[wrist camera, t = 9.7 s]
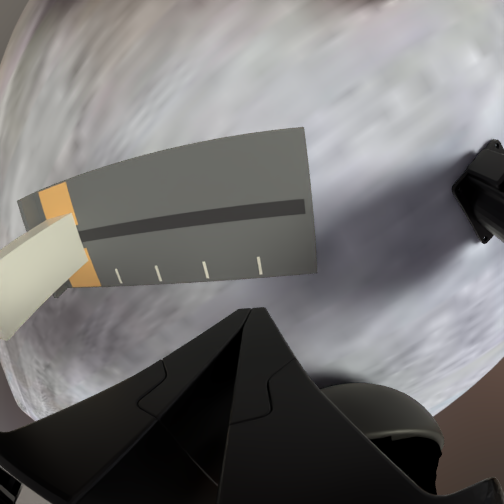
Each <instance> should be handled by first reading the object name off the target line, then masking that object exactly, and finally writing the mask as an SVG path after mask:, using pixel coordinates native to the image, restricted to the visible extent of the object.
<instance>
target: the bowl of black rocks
mask: <svg viewBox="0 0 504 504" xmlns="http://www.w3.org/2000/svg"><path fill="white" fill-rule="evenodd" d="M320 390H321V391H322V392H323V393H324V394H325V395H326V396H327V398H328V399H329V400H330V401H331V402H332V403H333V404H334V405H335V406H336V407H337V408H338V409H339V410H340V411H341V412H342V413H343V414H344V415H345V416H346V417H347V418H348V419H349V420H350V421H351V422H352V423H353V424H354V425H355V426H356V427H357V428H358V429H359V430H360V431H361V432H362V433H363V434H364V435H365V436H366V437H367V438H368V439H369V440H370V441H371V442H372V443H373V444H374V445H375V446H376V447H377V448H378V449H379V450H380V451H381V452H383V453H384V454H385V455H386V456H387V457H388V458H389V459H390V460H391V461H392V462H393V463H394V464H395V465H396V466H397V467H398V468H399V469H401V470H402V471H403V472H404V473H405V474H406V475H407V476H408V477H409V478H410V479H411V480H413V481H414V482H415V483H416V484H417V485H418V486H419V487H420V488H421V489H423V490H424V491H426V492H427V493H430V494H433V495H437V493H436V486H435V480H436V470H437V467H438V462H439V458H440V457H441V455H442V452H441V450H442V448H443V445H444V437H443V434H442V432H441V430H440V428H439V426H438V424H437V422H436V421H435V419H434V418H433V416H432V415H431V414H430V413H429V412H428V411H427V410H426V409H425V408H424V407H423V406H422V405H421V404H420V403H419V402H417V401H416V400H415V399H413V398H411V397H410V396H408V395H406V394H404V393H402V392H400V391H398V390H395V389H393V388H389V387H386V386H382V385H376V384H369V383H349V384H340V385H334V386H330V387H326V388H323V389H320Z"/></svg>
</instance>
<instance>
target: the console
mask: <svg viewBox="0 0 504 504" xmlns="http://www.w3.org/2000/svg"><path fill="white" fill-rule="evenodd" d="M17 203H18V206H19V209H20V213H21V216H22V219H23V222H24V225H25V228H26V231H27V232H28V231H29V230H31V229H32V228H34V227H36V226H37V225H39V224H41V223H42V222H44V221H45V220H47V219H50V218H54V217H57V216H61V215H64V214H68V213H72V215H73V218H74V221H75V224H76V228H77V230H78V233H79V236H80V239H81V242H82V245H83V248H84V250H85V253H86V256H87V258H88V262H86V263H85V264H84V265H83V266H82V267H81V268H80V269H79V270H78V271H76V272H75V273H74V274H73V275H72V276H71V277H70V278H69V279H68V280H67V281H66V282H65V283H64V284H62V285H61V286H60V287H59V288H58V289H57V290H56V291H55V292H54V293H53V296H54V298H58V297H59V296H60V295H61V294H62V293H63V292H64V291H65V290H66V289H67V288H82V287H111V286H134V285H155V284H174V283H191V282H207V281H223V280H237V279H251V278H264V277H276V276H289V275H300V274H312V273H317V260H316V243H315V229H314V216H313V205H312V194H311V184H310V174H309V165H308V156H307V148H306V140H305V132H304V127H298V128H288V129H279V130H271V131H263V132H256V133H249V134H243V135H236V136H230V137H224V138H219V139H213V140H208V141H203V142H198V143H193V144H188V145H184V146H179V147H175V148H171V149H166V150H162V151H158V152H154V153H150V154H147V155H143V156H139V157H135V158H132V159H128V160H125V161H121V162H118V163H115V164H111V165H108V166H105V167H102V168H99V169H96V170H93V171H90V172H87V173H84V174H81V175H78V176H75V177H72V178H70V179H67V180H64V181H62V182H59V183H56V184H54V185H51V186H49V187H46V188H44V189H41V190H39V191H37V192H34V193H32V194H30V195H28V196H26V197H24V198H22V199H20V200H18V201H17Z"/></svg>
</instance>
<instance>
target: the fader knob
mask: <svg viewBox="0 0 504 504" xmlns="http://www.w3.org/2000/svg"><path fill="white" fill-rule="evenodd" d="M86 262H88V258H87V256H86V253H85V250H84V248H83V245H82V242H81V239H80V236H79V233H78V230H77V228H76V224H75V221H74V218H73V215H72V213H68V214H64V215H61V216H57V217H54V218H50V219H47V220H45V221H44V222H42V223H41V224H39V225H37V226H36V227H34V228H32V229H31V230H29V231H28V232H26V233H25V234H23V235H21V236H20V237H18V238H17V239H15V240H14V241H12V242H11V243H9V244H8V245H7V246H5V247H4V248H2V249H1V250H0V339H2V340H6V341H8V340H9V339H10V338H11V337H12V336H13V335H14V334H15V333H16V331H17V330H18V329H19V328H20V327H21V326H22V325H23V324H24V323H25V322H26V321H27V320H28V318H29V317H30V316H31V315H32V314H33V313H34V312H35V311H36V310H37V309H38V308H39V307H40V306H41V305H42V304H43V303H44V302H45V301H46V300H47V299H48V298H49V297H50V296H51V295H52V294H53V293H54V292H55V291H56V290H57V289H58V288H59V287H60V286H61V285H62V284H64V283H65V282H66V281H67V280H68V279H69V278H70V277H71V276H72V275H73V274H74V273H75V272H76V271H78V270H79V269H80V268H81V267H82V266H83V265H84V264H85V263H86Z"/></svg>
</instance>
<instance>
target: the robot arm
mask: <svg viewBox="0 0 504 504" xmlns="http://www.w3.org/2000/svg"><path fill="white" fill-rule="evenodd" d="M495 145H496V147H495ZM458 188H459V192H457V189H458ZM452 192H453V194H454V196H455V198H456V199H457V201H458V202H459V204H460V206H461V207H462V209H463V211H464V213H465V214H466V216H467V218H468V220H469V221H470V223H471V225H472V227H473V229H474V231H475V232H476V234H477V236H478V238H479V240H480V241H481V242H482V243H483V244H486V243H487V242H488V241H489V240H490V239H491V238H492V237H493V236H494V235H495V236H496V237H497V238H498V239H500V240H501V241H502V242H503V243H504V149H503V147H502V145H501V143H500V141H499V140H496V139H493V140H492V141H491V142H490V143H489V144H488V146H487V147H486V148H485V149H483V150H482V151H481V152H480V154H479V155H478V156H477V157H476V158H475V160H474V161H473V162H472V163H471V164H470V165H469V166H468V168H467V170H466V171H465V173H464V174H463V175H462V176H461V177H460V178H459V179H458V180H457V182H456V183H455V184H454V185H453V187H452ZM484 237H485V238H484ZM0 465H1V466H2V467H3V468H4V469H5V470H6V471H8V472H9V473H10V474H11V475H10V474H9V473H8V472H6V471H5V470H4V469H3V468H1V467H0V504H504V493H503V490H502V488H501V485H500V483H499V482H498V480H497V478H495V477H491V478H487V479H485V480H483V481H480V482H478V483H476V484H474V485H471V486H469V487H467V488H465V489H462V490H460V491H458V492H455V493H453V494H449V495H433V494H430V493H427V492H426V491H424V490H423V489H421V488H420V487H419V486H418V485H417V484H416V483H415V482H414V481H413V480H411V479H410V478H409V477H408V476H407V475H406V474H405V473H404V472H403V471H402V470H401V469H399V468H398V467H397V466H396V465H395V464H394V463H393V462H392V461H391V460H390V459H389V458H388V457H387V456H386V455H385V454H384V453H383V452H381V451H380V450H379V449H378V448H377V447H376V446H375V445H374V444H373V443H372V442H371V441H370V440H369V439H368V438H367V437H366V436H365V435H364V434H363V433H362V432H361V431H360V430H359V429H358V428H357V427H356V426H355V425H354V424H353V423H352V422H351V421H350V420H349V419H348V418H347V417H346V416H345V415H344V414H343V413H342V412H341V411H340V410H339V409H338V408H337V407H336V406H335V405H334V404H333V403H332V402H331V401H330V400H329V399H328V398H327V396H326V395H325V394H324V393H323V392H322V391H321V390H320V389H319V388H318V387H317V386H316V384H315V383H314V382H313V381H312V380H311V379H310V377H309V376H308V375H307V373H306V372H305V370H304V369H303V367H302V366H301V364H300V363H299V361H298V360H297V359H296V357H295V355H294V354H293V352H292V351H291V349H290V347H289V346H288V344H287V342H286V341H285V339H284V338H283V336H282V334H281V333H280V331H279V329H278V328H277V326H276V324H275V323H274V321H273V320H272V318H271V316H270V315H269V313H268V311H267V310H266V308H264V307H261V308H253V309H252V310H251V309H250V308H246V309H238V310H236V311H235V312H233V313H232V314H231V315H229V316H228V317H226V318H225V319H223V320H222V321H220V322H219V323H217V324H216V325H214V326H213V327H211V328H210V329H208V330H207V331H205V332H203V333H202V334H200V335H199V336H197V337H196V338H194V339H193V340H191V341H190V342H188V343H187V344H185V345H183V346H182V347H180V348H179V349H177V350H176V351H174V352H173V353H171V354H169V355H168V356H166V357H165V358H163V361H162V360H159V361H157V362H156V363H154V364H153V365H151V366H149V367H148V368H146V369H144V370H143V371H141V372H139V373H137V374H136V375H134V376H132V377H130V378H128V379H126V380H124V381H122V382H120V383H118V384H116V385H114V386H112V387H110V388H108V389H106V390H104V391H102V392H100V393H98V394H96V395H94V396H91V397H89V398H87V399H85V400H83V401H81V402H79V403H76V404H74V405H72V406H70V407H68V408H65V409H63V410H61V411H59V412H56V413H54V414H52V415H49V416H47V417H45V418H42V419H40V420H38V421H35V422H33V423H30V424H28V425H26V426H23V427H21V428H18V429H16V430H13V431H10V432H0ZM12 475H13V476H14V477H15V478H14V477H13V476H12ZM17 479H18V480H19V481H18V480H17Z"/></svg>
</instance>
